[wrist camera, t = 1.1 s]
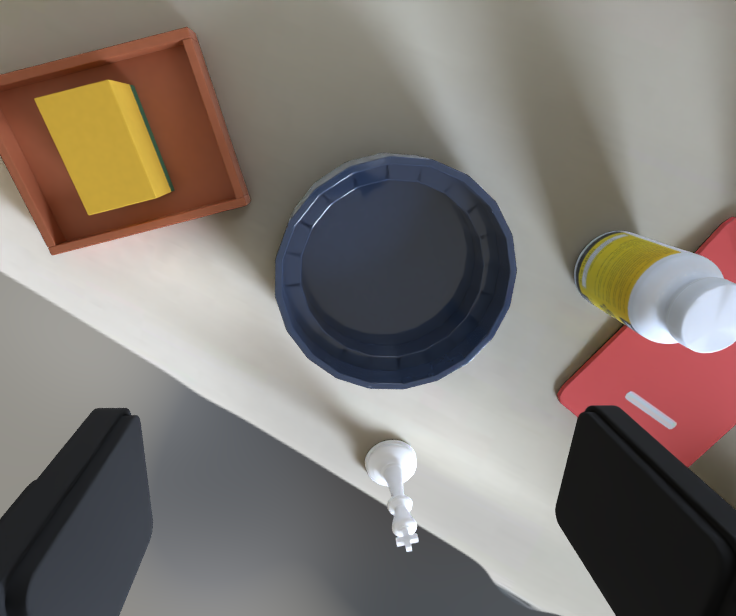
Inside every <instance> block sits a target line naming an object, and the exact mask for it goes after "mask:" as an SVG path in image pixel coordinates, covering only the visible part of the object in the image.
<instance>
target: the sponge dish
mask: <svg viewBox="0 0 736 616" xmlns="http://www.w3.org/2000/svg"><path fill="white" fill-rule="evenodd" d="M104 80H113V81H117V82H121V83H126V84H130V85H134V86H135V89H136V92H137V94H138V97H139V99H140V102H141V105H142V107H143V110H144V112H145V115H146V117H147V120H148V123H149V125H150V128H151V130H152V133H153V135H154V138H155V141H156V143H157V146H158V148H159V151H160V153H161V156H162V159H163V161H164V164H165V166H166V169H167V171H168V174H169V177H170V179H171V182H172V184H173V187H174V191H172V192H170V193H167V194H165V195H163V196H160V197H158V198H155V199H151V200H147V201H143V202H140V203H136V204H132V205H128V206H124V207H120V208H116V209H112V210H108V211H105V212H101V213H97V214H93V215H88V214H87V211H86V209H85V207H84V205H83V203H82V201H81V199H80V196H79V194H78V192H77V190H76V188H75V186H74V184H73V181H72V179H71V177H70V175H69V173H68V171H67V169H66V166H65V164H64V162H63V160H62V158H61V156H60V154H59V152H58V149H57V147H56V145H55V143H54V141H53V139H52V137H51V134H50V132H49V130H48V128H47V126H46V124H45V122H44V119H43V117H42V115H41V113H40V111H39V109H38V107H37V104H36V102H35V100H34V98H37V97H41V96H45V95H49V94H53V93H57V92H61V91H65V90H69V89H72V88H76V87H80V86H84V85H88V84H92V83H96V82H100V81H104ZM0 155H1V157H2V159H3V161H4V163H5V165H6V167H7V169H8V171H9V173H10V175H11V177H12V179H13V181H14V183H15V185H16V187H17V189H18V190H19V192H20V194H21V196H22V198H23V200H24V202H25V204H26V206H27V208H28V210H29V212H30V214H31V216H32V218H33V220H34V222H35V224H36V225H37V227H38V229H39V231H40V233H41V235H42V237H43V239H44V241H45V243H46V245H47V247H49V248H48V249H49V251H50V253H51V255H56V254H60V253H64V252H68V251H72V250H76V249H80V248H83V247H87V246H91V245H95V244H99V243H103V242H107V241H111V240H115V239H118V238H122V237H126V236H130V235H134V234H138V233H142V232H146V231H150V230H153V229H157V228H161V227H165V226H169V225H173V224H177V223H181V222H185V221H188V220H192V219H196V218H200V217H204V216H208V215H212V214H216V213H220V212H224V211H227V210H231V209H235V208H239V207H243V206H246V205H248V204H249V202H251V200H250V197H249V194H248V191H247V188H246V185H245V182H244V179H243V176H242V173H241V170H240V167H239V164H238V160H237V157H236V154H235V151H234V148H233V145H232V142H231V139H230V136H229V133H228V130H227V127H226V124H225V121H224V118H223V115H222V112H221V109H220V106H219V103H218V100H217V97H216V94H215V91H214V88H213V85H212V82H211V79H210V76H209V73H208V70H207V66H206V63H205V60H204V57H203V54H202V51H201V48H200V45H199V42H198V39H197V36H196V33H195V32H193V31H192V30H190V29H189V28H188V27H185V28H181V29H177V30H173V31H169V32H165V33H161V34H157V35H153V36H150V37H146V38H142V39H138V40H134V41H130V42H126V43H122V44H118V45H114V46H111V47H107V48H103V49H99V50H95V51H91V52H87V53H83V54H79V55H76V56H72V57H68V58H64V59H60V60H56V61H52V62H48V63H44V64H40V65H37V66H33V67H29V68H25V69H21V70H17V71H13V72H9V73H5V74H1V75H0Z"/></svg>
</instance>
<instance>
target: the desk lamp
mask: <svg viewBox="0 0 736 616" xmlns="http://www.w3.org/2000/svg"><path fill="white" fill-rule="evenodd" d="M695 254H698V255H701V256H703V257H705V258H707V259H709V260H710V261H712V262H713V263H714V264H715V265H716V266H717V267H718V268H719V269H720V271H721V273H722V275H723V277H724V279H726V280H729V281H731V282H733V283H735V284H736V217H731V218H729V219H728V220H726V221H725V222H723V223H722V224H721V225H720V226H719V227H718V228H717V229H716V230H715V231H714V233H713V234H712V235H711V236H710V237H709V238H708V239H707V240H706V241H705V242H704V243H703V244H702V245H701V247H700V248H699V249H698V250H697V251H696V252H695ZM557 396H558V399H559V401H560V403H561V404H562V405H564V406H565V407H566V408H567V409H569V410H570V411H571V412H572V413H573V414H575V415H576V416H577V417H578V416H579V414H580V413H582V412H584V411H585V409H586V408H587V407H588V406H591V405H615V406H618V407H620V408H621V409H622V410H623V411H624V412H626V413H627V414H628V415H629V416H630V417H631V418H632V419H633V420H635V421H636V422H637V423H638V424H639V425H640V426H641V427H642V428H644V429H645V430H646V431H647V432H648V433H649V434H650V435H651V436H653V437H654V438H655V439H656V440H657V441H658V442H659V443H660V444H662V445H663V446H664V447H665V448H666V449H667V450H668V451H669V452H671V453H672V454H673V455H674V456H675V457H676V458H677V459H678V460H680V461H681V462H682V463H683V464H684V465H685V466H686V467H689V466H691V465H692V464H693V463H694V462H695V461H696V460H697V459H698V458H699V457H701V456H702V455H703V454H704V453H705V452H706V451H707V450H708V449H709V448H710V447H712V446H713V445H714V444H715V443H716V442H717V441H718V440H719V439H720V438H721V437H723V436H724V435H725V434H726V433H727V432H728V431H729V430H730V429H731V428H733V427H734V426H735V425H736V341H735V342H734V343H733V344H731V345H730V346H728V347H726V348H724V349H722V350H720V351H716V352H712V353H699V352H695V351H693V350H691V349H689V348H687V347H685V346H683V345H682V344H680V343H673V344H663V343H657V342H654V341H651V340H648V339H647V338H645V337H643V336H641V335H639V334H638V333H637V332H635V331H634V330H632V329H631V328H629V327H628V326H626V325H624V326H623V327H622V328H621V329H620V330H619V331H618V332H617V333H616V334H614V335H613V336H612V337H611V338H610V339H609V340H608V341H607V342H606V343H605V344H604V345H603V346H602V347H601V348H600V349H599V350H598V351H597V352H596V353H595V354H594V355H593V356H592V357H591V358H590V359H589V360H588V361H587V362H586V363H585V364H584V365H583V366H582V367H581V368H580V369H579V370H578V371H577V372H576V373H575V374H574V375H573V376H572V377H571V378H569V379H568V380H567V381H566V382H565V383H564V384H563V385H562V387H561V388H560V390H559V392H558V394H557Z"/></svg>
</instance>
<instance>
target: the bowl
mask: <svg viewBox="0 0 736 616" xmlns="http://www.w3.org/2000/svg"><path fill="white" fill-rule="evenodd" d="M516 271H517V268H516V260H515V251H514V243H513V236H512V233H511V231H510V229H509V227H508V225H507V223H506V221H505V219H504V217H503V215H502V213H501V211H500V209H499V207H498V205H497V203H496V201H495V200H494V199H493V198H492V197H491V196H490V195H488V194H487V193H486V192H485V191H484V190H483V189H482V188H481V187H480V186H479V185H478V184H477V183H476V182H475V181H474V180H473V179H472V178H471V177H470V176H468V175H467V174H465V173H462V172H460V171H458V170H456V169H454V168H451V167H449V166H447V165H445V164H442V163H440V162H438V161H436V160H433V159H430V158H426V157H423V156H419V155H409V154H396V153H384V152H383V153H378V154H374V155H370V156H367V157H363V158H359V159H355V160H351V161H347V162H345V163H344V164H342V165H340V166H339V167H337V168H336V169H334V170H333V171H331V172H330V173H328V174H327V175H325V176H324V177H322V178H321V179H319V180H317V181H316V182H315V183H314V184H313V185H312V187H311V188H310V189H309V190H308V192H307V193H306V194H305V195H304V197H303V198H302V199H301V201H300V202H299V203H298V204H297V206H296V207H295V208H294V209H293V211H292V213H291V216H290V219H289V222H288V225H287V227H286V230H285V233H284V236H283V239H282V241H281V244H280V247H279V250H278V253H277V256H276V259H275V298H276V301H277V304H278V307H279V310H280V313H281V316H282V319H283V322H284V325H285V328H286V330H287V332H288V333H289V335H290V336H291V337H292V338H293V340H294V341H295V342H296V344H297V345H298V346H299V348H300V349H301V350H302V352H303V353H304V354H305V355H306V357H307V358H308V359H309V360H311V361H312V362H314V363H315V364H317V365H318V366H319V367H321V368H322V369H324V370H325V371H327V372H328V373H330V374H331V375H332V376H334V377H335V378H337V379H340V380H344V381H347V382H350V383H353V384H356V385H360V386H363V387H366V388H370V389H407V388H411V387H415V386H419V385H422V384H426V383H430V382H434V381H437V380H440V379H441V378H443V377H445V376H447V375H448V374H450V373H452V372H453V371H455V370H457V369H459V368H460V367H462V366H464V365H466V364H467V363H469V362H470V361H471V360H472V359H473V358H474V357H475V356H476V355H477V354H478V353H479V352H480V351H481V350H482V349H483V347H484V346H485V345H486V344H487V343H488V342H489V341H490V340H491V339H492V338H493V337H494V335H495V333H496V331H497V329H498V328H499V326H500V324H501V322H502V320H503V318H504V317H505V315H506V313H507V311H508V309H509V306H510V303H511V298H512V293H513V288H514V283H515V278H516V273H517V272H516Z"/></svg>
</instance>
